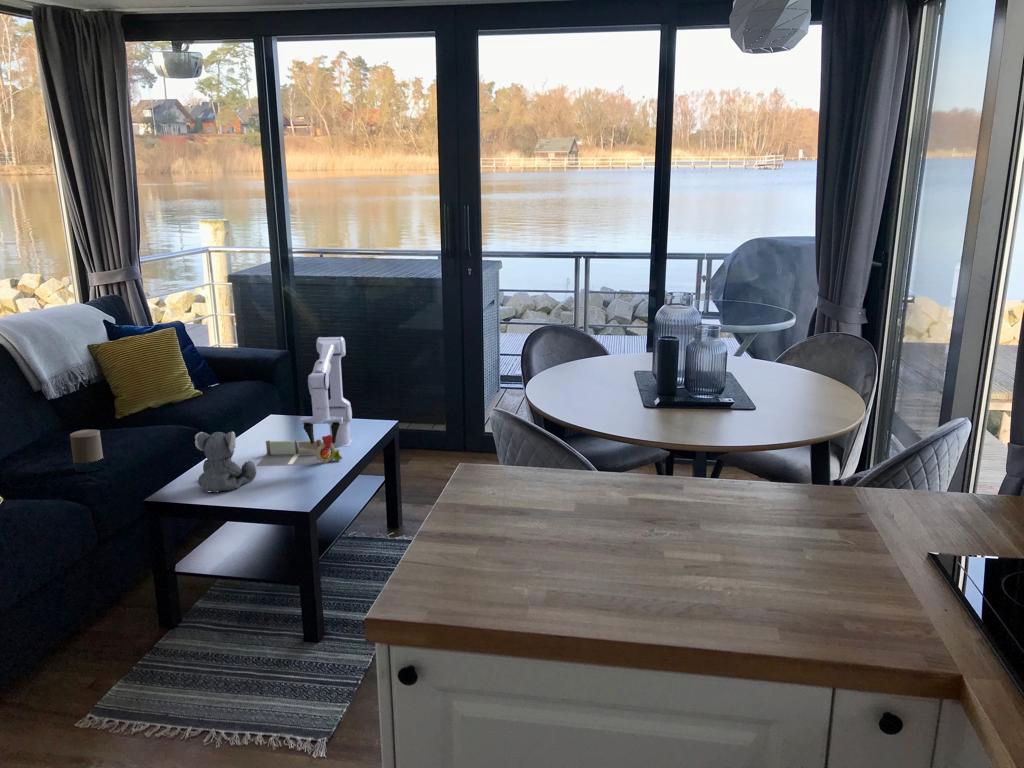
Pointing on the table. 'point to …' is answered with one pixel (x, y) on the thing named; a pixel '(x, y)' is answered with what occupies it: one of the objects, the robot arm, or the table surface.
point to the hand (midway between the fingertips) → (323, 442)
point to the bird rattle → (327, 451)
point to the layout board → (289, 459)
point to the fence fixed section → (308, 447)
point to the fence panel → (281, 447)
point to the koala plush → (222, 463)
